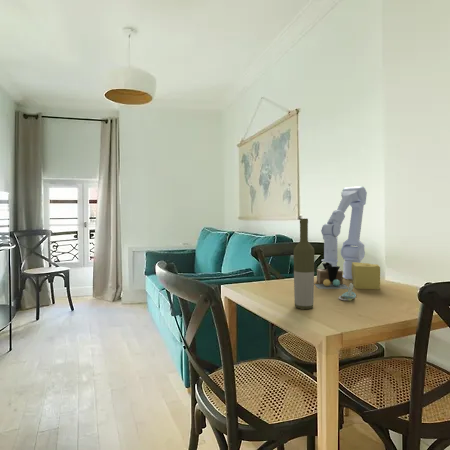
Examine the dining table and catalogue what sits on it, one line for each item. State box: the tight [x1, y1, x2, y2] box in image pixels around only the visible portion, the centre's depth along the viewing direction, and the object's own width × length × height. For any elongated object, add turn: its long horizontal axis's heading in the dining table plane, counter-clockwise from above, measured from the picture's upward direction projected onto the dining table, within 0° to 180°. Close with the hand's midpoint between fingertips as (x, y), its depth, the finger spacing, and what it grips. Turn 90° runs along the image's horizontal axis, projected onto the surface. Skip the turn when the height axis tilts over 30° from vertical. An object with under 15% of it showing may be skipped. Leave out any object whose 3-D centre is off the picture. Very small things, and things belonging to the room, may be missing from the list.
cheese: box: [351, 262, 381, 290], centre depth 147 cm, size 10×11×10 cm
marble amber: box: [323, 279, 331, 286], centre depth 148 cm, size 3×3×3 cm
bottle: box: [292, 218, 315, 310], centre depth 117 cm, size 7×7×30 cm
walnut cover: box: [316, 268, 344, 284], centre depth 157 cm, size 6×10×6 cm, turn 86°
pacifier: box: [338, 282, 357, 302], centre depth 128 cm, size 7×6×6 cm
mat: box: [314, 283, 349, 290], centre depth 148 cm, size 9×13×1 cm
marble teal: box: [333, 279, 340, 286], centre depth 148 cm, size 3×3×3 cm
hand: (330, 280), depth 157 cm, fingers closed on walnut cover, 6 cm apart
